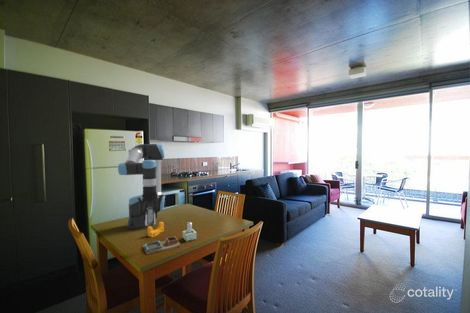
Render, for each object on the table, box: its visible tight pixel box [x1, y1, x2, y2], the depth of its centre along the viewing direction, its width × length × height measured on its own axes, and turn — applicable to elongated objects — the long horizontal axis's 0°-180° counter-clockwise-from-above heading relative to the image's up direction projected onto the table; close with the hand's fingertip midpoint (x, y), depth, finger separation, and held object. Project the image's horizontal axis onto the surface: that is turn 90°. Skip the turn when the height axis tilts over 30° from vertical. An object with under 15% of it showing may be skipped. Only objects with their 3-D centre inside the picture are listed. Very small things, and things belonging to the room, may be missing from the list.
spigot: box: [146, 207, 155, 227], centre depth 125 cm, size 4×4×11 cm
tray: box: [182, 228, 197, 243], centre depth 140 cm, size 7×7×5 cm
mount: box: [142, 235, 182, 256], centre depth 129 cm, size 12×20×4 cm, turn 122°
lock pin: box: [186, 221, 193, 234], centre depth 140 cm, size 3×3×10 cm
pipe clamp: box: [147, 221, 165, 238], centre depth 149 cm, size 12×4×6 cm, turn 152°
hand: (150, 224), depth 125 cm, fingers closed on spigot, 4 cm apart
